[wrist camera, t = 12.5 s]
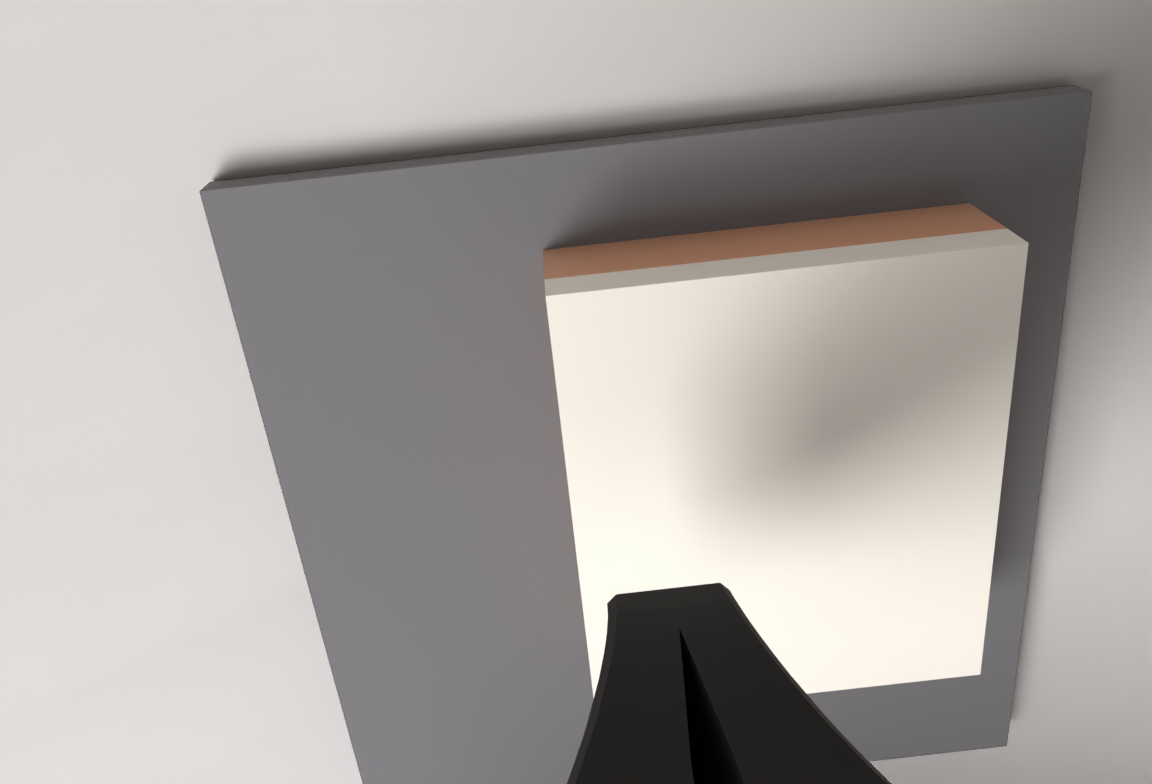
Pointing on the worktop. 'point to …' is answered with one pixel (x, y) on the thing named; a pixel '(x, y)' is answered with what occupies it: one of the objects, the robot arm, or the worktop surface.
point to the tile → (796, 430)
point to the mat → (531, 412)
